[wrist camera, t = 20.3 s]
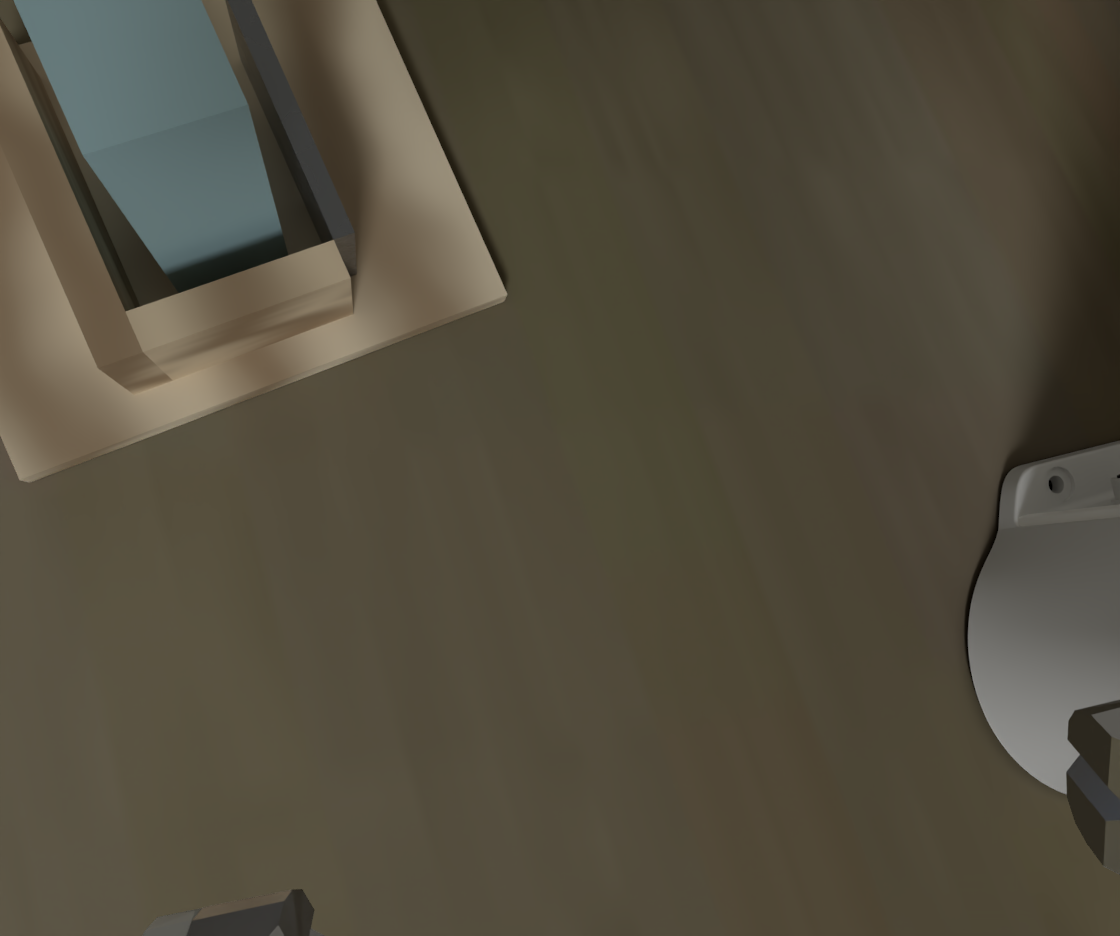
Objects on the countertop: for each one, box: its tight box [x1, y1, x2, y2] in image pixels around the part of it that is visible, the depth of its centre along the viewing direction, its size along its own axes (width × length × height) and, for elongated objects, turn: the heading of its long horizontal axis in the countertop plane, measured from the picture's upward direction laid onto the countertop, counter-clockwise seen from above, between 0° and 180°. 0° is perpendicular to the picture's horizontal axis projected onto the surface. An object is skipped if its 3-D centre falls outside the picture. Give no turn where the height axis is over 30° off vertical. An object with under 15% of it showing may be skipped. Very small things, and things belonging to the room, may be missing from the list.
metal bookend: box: [225, 0, 357, 276], centre depth 33 cm, size 1×10×4 cm, turn 24°
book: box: [14, 0, 288, 293], centre depth 29 cm, size 4×7×12 cm, turn 25°
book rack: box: [0, 0, 507, 483], centre depth 33 cm, size 20×16×6 cm
